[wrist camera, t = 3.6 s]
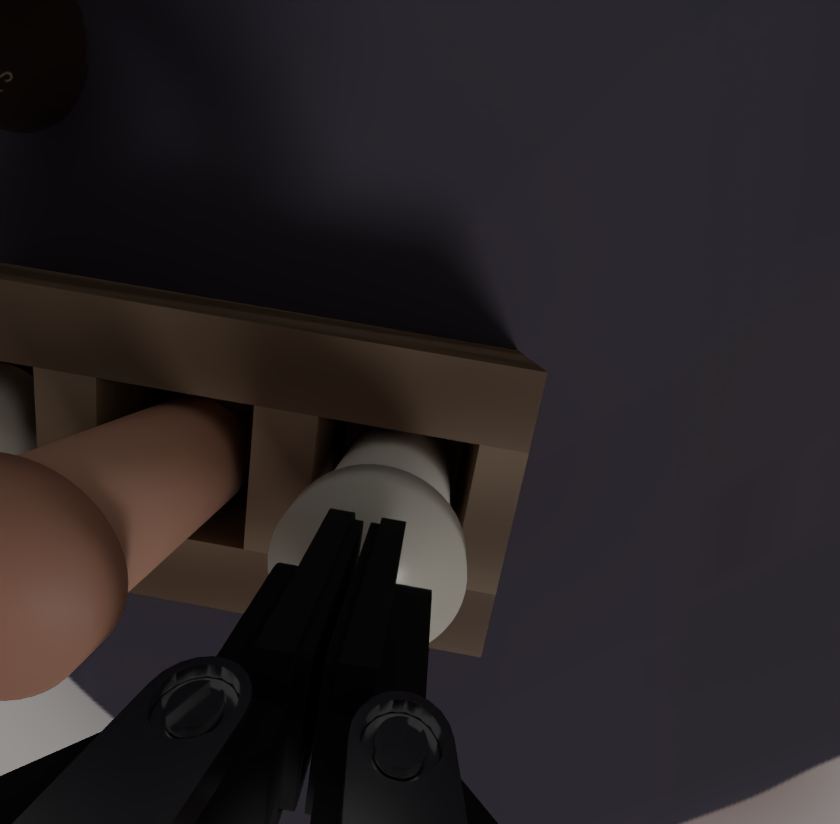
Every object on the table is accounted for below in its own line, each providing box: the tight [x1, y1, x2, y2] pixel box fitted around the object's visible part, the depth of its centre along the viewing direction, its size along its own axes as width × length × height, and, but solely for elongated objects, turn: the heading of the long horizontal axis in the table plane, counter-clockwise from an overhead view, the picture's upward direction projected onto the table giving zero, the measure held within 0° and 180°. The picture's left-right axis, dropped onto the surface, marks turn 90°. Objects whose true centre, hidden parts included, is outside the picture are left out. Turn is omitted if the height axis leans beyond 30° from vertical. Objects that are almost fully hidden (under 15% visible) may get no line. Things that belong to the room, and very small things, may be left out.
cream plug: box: [268, 425, 467, 642], centre depth 15 cm, size 5×5×8 cm
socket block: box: [0, 263, 548, 657], centre depth 18 cm, size 10×22×6 cm, turn 81°
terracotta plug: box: [0, 396, 251, 701], centre depth 12 cm, size 5×5×8 cm
